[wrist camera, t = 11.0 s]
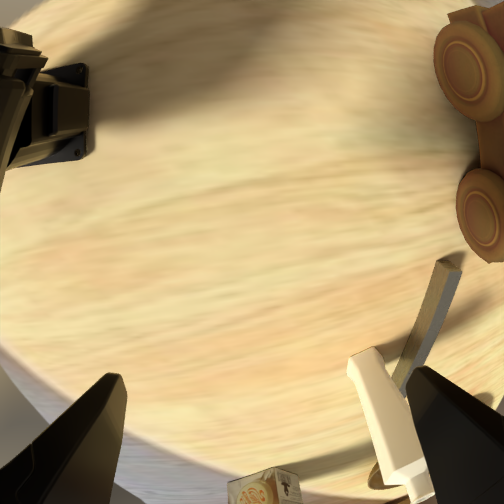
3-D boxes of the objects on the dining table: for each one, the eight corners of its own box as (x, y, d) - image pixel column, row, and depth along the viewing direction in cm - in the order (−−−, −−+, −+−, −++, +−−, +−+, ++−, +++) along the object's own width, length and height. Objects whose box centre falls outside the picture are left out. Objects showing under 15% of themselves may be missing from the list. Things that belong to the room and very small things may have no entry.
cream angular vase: (382, 372, 27) (440, 495, 13) (342, 382, 27) (390, 516, 13) (390, 339, 25) (465, 472, 11) (346, 349, 25) (409, 499, 11)
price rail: (367, 422, 31) (372, 434, 29) (436, 260, 22) (449, 271, 20) (380, 419, 31) (385, 431, 29) (451, 260, 22) (464, 271, 20)
